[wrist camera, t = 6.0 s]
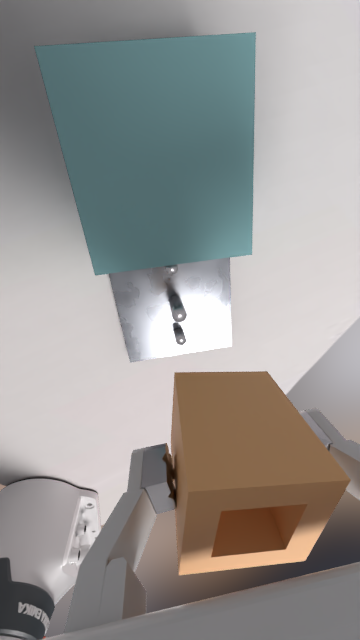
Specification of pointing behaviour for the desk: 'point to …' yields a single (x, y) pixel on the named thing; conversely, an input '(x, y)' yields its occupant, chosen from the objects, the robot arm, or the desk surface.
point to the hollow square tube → (246, 474)
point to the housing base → (174, 308)
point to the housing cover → (157, 145)
